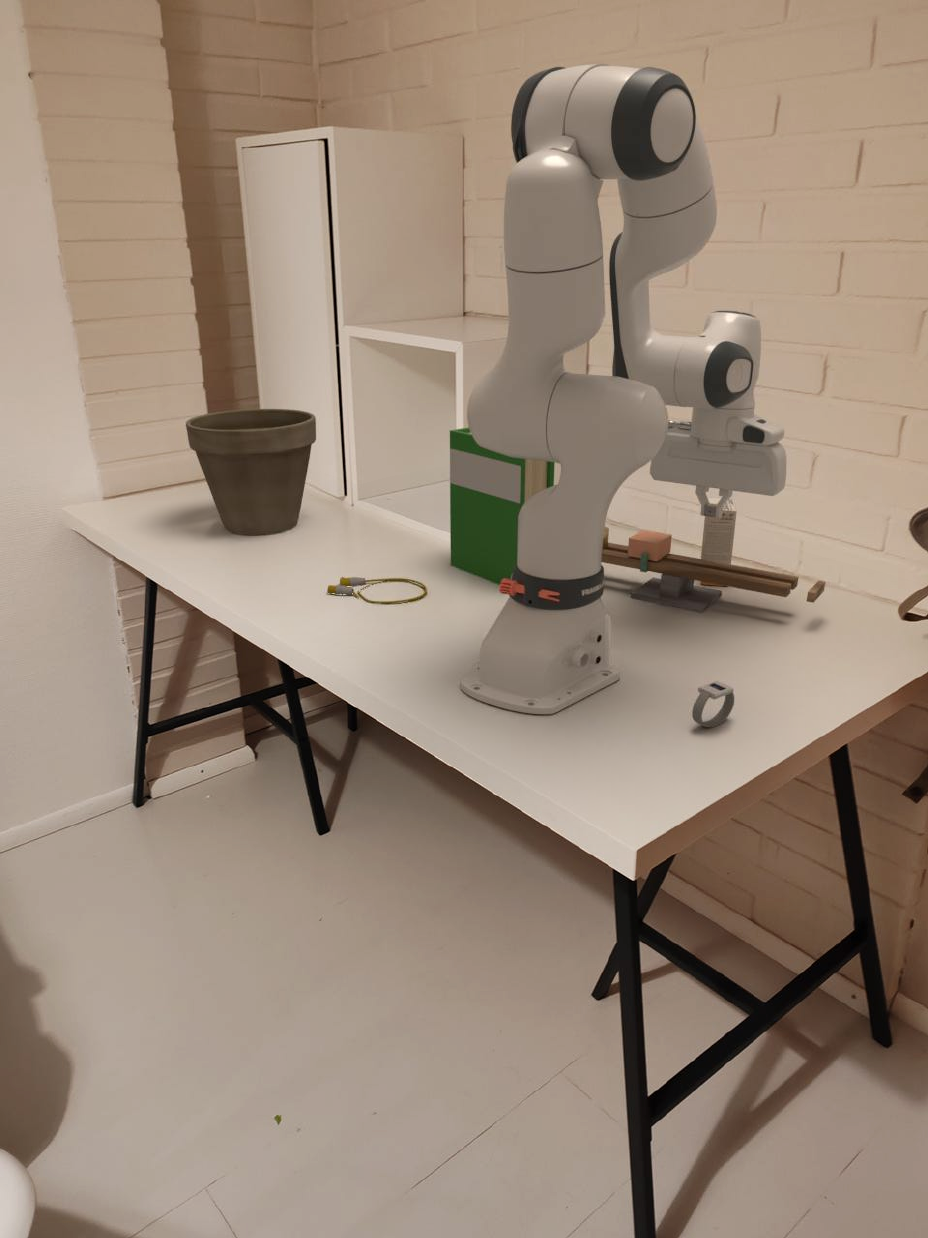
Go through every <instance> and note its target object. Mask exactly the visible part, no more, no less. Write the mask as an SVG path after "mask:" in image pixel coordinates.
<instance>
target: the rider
mask: <svg viewBox="0 0 928 1238" xmlns="http://www.w3.org/2000/svg"><path fill="white" fill-rule="evenodd" d="M672 538H673V537H672V534H671V533H670V534H669V533H666V532H665V533H664V532H658V531H653V530H647V529H642V530H640V531H639V532H637V533H634V534H633V535H632V536H630V537H629V538H628V545H627V546H628V556H630V557H636V558H641V553H648V560H652V561H658V560H662V558H663V557H664V556H665V555H667V554H668V553H670V554H671V548H672Z"/></svg>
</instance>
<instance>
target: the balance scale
mask: <svg viewBox="0 0 928 1238" xmlns="http://www.w3.org/2000/svg"><path fill="white" fill-rule="evenodd" d="M609 530H610V529H609V527H607V526H605V529H604V537H603V547H602V560H601V563H605V564H608V565H609V564H610V565H615V566H621V567H626V568H630V569H635V570H636V569H637V570H639V572H641V573H647V572H652V573H656V574H657V573H658V574H661V575H660V578H657V577H652V578H650V579H649V580H646V582H644V583H643V584H641V586H639V587H638V588H636V589H634V590H633V591H632V592H631V593H630V598H631V599H634V600H635V599H636V600H640V601H644V602H650V603H655V604H659V605H664V606H669V607H675V608H678V609H679V608H680V609H684V610H688V611H693V612H697V613H704V611H705V610H707V609H708V608H709V607H710V606H711V605H713V604H714V603H715V602H716V601H717V600H719V598H720V597H722V595H723V590H720V589H715V588H711V587H705V586H701V585H699V586H698V585H694V584H695V581H699V582H701V581H703V582H708V583H713V584H718V585H724V586H723V587H731V588H736V589H740V590H745V591H751V592H754V593H755V592H756V593H761V594H765V595H766V594H767V595H772V596H777V597H782V598H787V597H788V596H789V595H790V594H791V590H792V591H794V590H795V589H796V588H797V587H798V584H799V576H798V575H797V576H796V575H792V574H785V573H780V572H775V571H770V570H769V571H768V570H763V569H758V568H752V567H748V566H747V567H746V566H742V565H737V564H736V565H735V564H732V563H731V564H725V563H720V562H714V561H709V560H703V559H701V558H697V557H690V556H685V555H682V554H681V555H680V554H674V553H671V552H670V553H668V554H667V555H665V556H664V557H663V558H662V560H658V561H652V560H648V553H641V558H636V557H630V556H628V545H624V544H617V543H613V542H609V533H610V531H609ZM825 587H826V581H825V580H817V581H816V583H815V584H813V586H811V588H810V589H809V590H808V591H807V596H806V602H809V603H813V604H814V603H815V602H816V600H818V599H819V597H820V596H821V595H822V594H823V593H824V592H825Z"/></svg>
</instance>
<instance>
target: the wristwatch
mask: <svg viewBox="0 0 928 1238" xmlns="http://www.w3.org/2000/svg"><path fill="white" fill-rule="evenodd" d="M697 692H698V693H699V694H698V696H697V698H696V699H695V702H694V704H693V708H692V711H691V712H692V719H693V721H694V722H695V723H696V724H697V725H700V726H702V727H705V728H715V727H717V726H719V725H720V724H722V723H723V722H724V721H725V720H726V719H727V718H728V717H729V715H730V714H731V712H732V710H733V708H734V706H735V695H734V687H732V686H730V685H729V684H725V683H723V682H721V681H719V680H715V681H713V682H710V683H707V684H703V685H701V686H699V687H698V688H697ZM722 697H724V702H723V704H722V706H721V708H720V710H719V711H718V713H716V714H715V715H714V717H712V718H711V719H709V720H707V721H703V710H704V708H705V706H706V704H707V702H708V700H709V699H711V700H717V699H719V698H722Z"/></svg>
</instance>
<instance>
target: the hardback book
mask: <svg viewBox="0 0 928 1238" xmlns="http://www.w3.org/2000/svg"><path fill="white" fill-rule="evenodd" d="M555 463H556V462H549V461H540V460H531V459H522V458H513V457H509V456H506V455H503V454H500V453H497V452H494V451H491V450H489V449H486V448H483V447H481V446H479V445H478V444H477V443H476V441H475V440H474V438H473V436H472V434H471V432H470V429H469V427H464V428H458V429H451V430H449V475H450V476H449V491H450V492H449V496H450V497H449V498H450V499H449V503H450V505H449V507H450V509H449V512H450V518H449V519H450V522H449V523H450V526H449V527H450V566H451V567H453V568H456V569H459V570H461V571H463V572H465V573H469V574H471V575H473V576H476V577H478V578H481V579H484V580H485V581H489V582H490V583H491V582H492V583H494V584H497V585H499V586H500V583H502V582H501V580H502V579H503V578H506V579H509V580H511V575H512V573H513V570H514V566H515V564H516V563H517V548H518V515H519V512H520V510H521V508H522V506H523V504H524V503H525V501H526V500H527V499H528V498H530V497H531V496H532V495H534V494H536V493H538V492H540V491H542V490H544V489H546V488H549V487H552V486H554V485H555Z"/></svg>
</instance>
